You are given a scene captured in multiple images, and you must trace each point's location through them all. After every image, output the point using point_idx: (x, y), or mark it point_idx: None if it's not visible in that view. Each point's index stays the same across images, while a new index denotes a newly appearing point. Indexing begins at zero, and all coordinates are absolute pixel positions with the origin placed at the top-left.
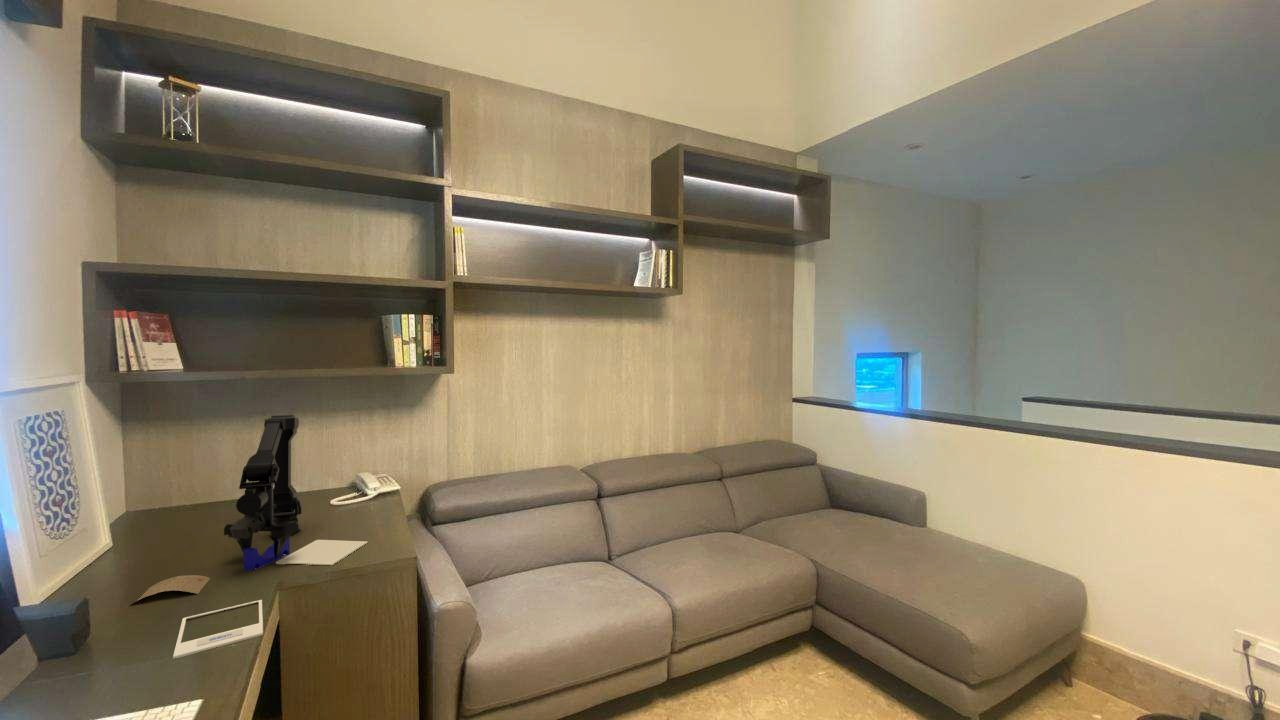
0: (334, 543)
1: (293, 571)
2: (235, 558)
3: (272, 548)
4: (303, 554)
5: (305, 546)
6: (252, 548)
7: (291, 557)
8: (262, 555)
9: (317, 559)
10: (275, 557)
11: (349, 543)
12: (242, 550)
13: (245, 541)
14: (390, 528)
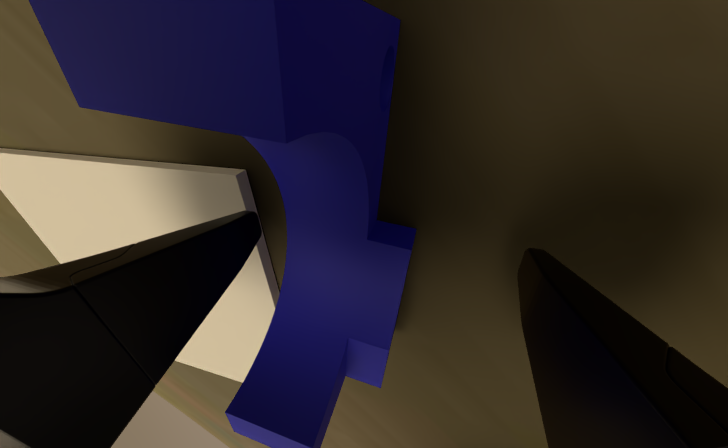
0: (204, 355)
1: (38, 58)
2: (681, 287)
3: (348, 326)
4: None
5: None
6: (154, 94)
7: None
8: (388, 260)
9: (80, 208)
10: (247, 212)
11: None
12: (596, 294)
13: (613, 439)
14: (192, 412)
